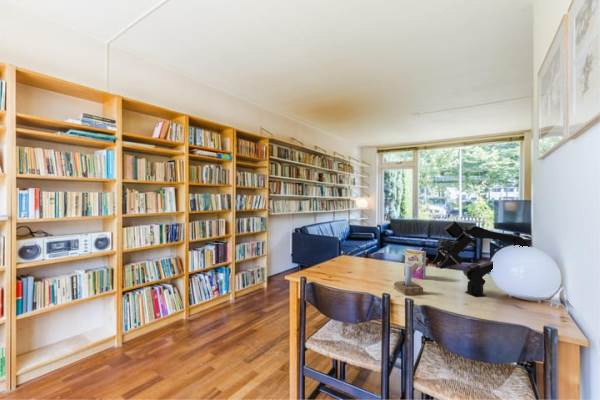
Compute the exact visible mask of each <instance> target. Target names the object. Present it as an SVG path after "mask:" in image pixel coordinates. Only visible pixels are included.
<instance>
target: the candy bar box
mask: <svg viewBox="0 0 600 400" xmlns="http://www.w3.org/2000/svg"><path fill="white" fill-rule="evenodd" d="M426 259H427V251H426V250H425V251H424V250H417V249H412V248H411V249H410V248H407V249H405V250H404V267H405V266H411V267H412V276H411V279H412V278H413V279H418V280H425V279H426V278H427V277H426V276H427V275H426V274H427V273H426V272H427V271H426V269H427V268H426V266H427V264H426V263H427V260H426ZM404 277H405V272H404Z"/></svg>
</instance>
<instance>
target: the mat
mask: <svg viewBox="0 0 600 400" xmlns="http://www.w3.org/2000/svg"><path fill="white" fill-rule="evenodd" d="M398 282H405V280H398V281H395V283H398ZM411 282H413V283H415V284H417V285H419V286H421V287H422V285H420V284H418V283H416V282H415V281H412V280H411Z"/></svg>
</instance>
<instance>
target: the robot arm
mask: <svg viewBox="0 0 600 400" xmlns="http://www.w3.org/2000/svg"><path fill="white" fill-rule="evenodd" d="M443 231H445V233H446V234H447V235H449V236H450V237H451V239H454V238H455V240H454V241H451V240H449V239H443V238H440V237H439V238H438V241H437V242H436V245H438V246H437V247H436V249H435V250H436V256H435V258H434V259H433V261H432V264H433V265H436V264H438V263H441V262H442V263H441V264H440V266H439V269H440V270H442V269H446V268H449V267H452V266H458V265H461V264H462V263H463V262H464V259H463V258H462V257H461V256H460V255H459V254H461V253H464V252H465V249H466V248H467V247H468V246H469V245H473V246H476V245H477V242H476V239H491V240H497V241H501V242H502V241H503V242H505V243H512V245H513V247H514V246H515V245H520V246H522V247H523V246H528V247H531V245H529V244H528V243H527V242H526V241H525V239H524V238H523V237H522V236H520V235H516V234H509V233H503V232H500V231H499V232H497V231H492V230H489V229H487V228H484V227H481V226H478V225H473V224H471V225H469V226H467V227H461V226H460V225H459V223H457V222H456V221H455V220H454V221H452V222H450V223H449V224H447V225H446V226H445V227H444V228H443ZM471 237H472V238H471ZM473 238H475V239H473ZM520 246H519V247H520ZM493 261H494V260H491V261H489V262H486V263H483V264H478V263H477V262H472V263H470V264H466V266H464V267H463V270H462V272H463V275H464V276H465V277H466V279H467V280H468V281H467V286H466V287H467V288H466V289H467V290H465V293H466V294H467V295H471V296H472V297H477V298H478V297H486V296H487V294H485V293H484V285H485V283H486V280H485V279H484V278H483V277H484V276H486V275H487V274H489V273H492V272H491V270H492V269H493Z"/></svg>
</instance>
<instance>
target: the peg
mask: <svg viewBox="0 0 600 400" xmlns="http://www.w3.org/2000/svg"><path fill="white" fill-rule="evenodd" d="M404 273H405V276H404V281H405V286H406V287H411V281H412V277H411V276H412V267H411V266H405V265H404Z"/></svg>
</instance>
